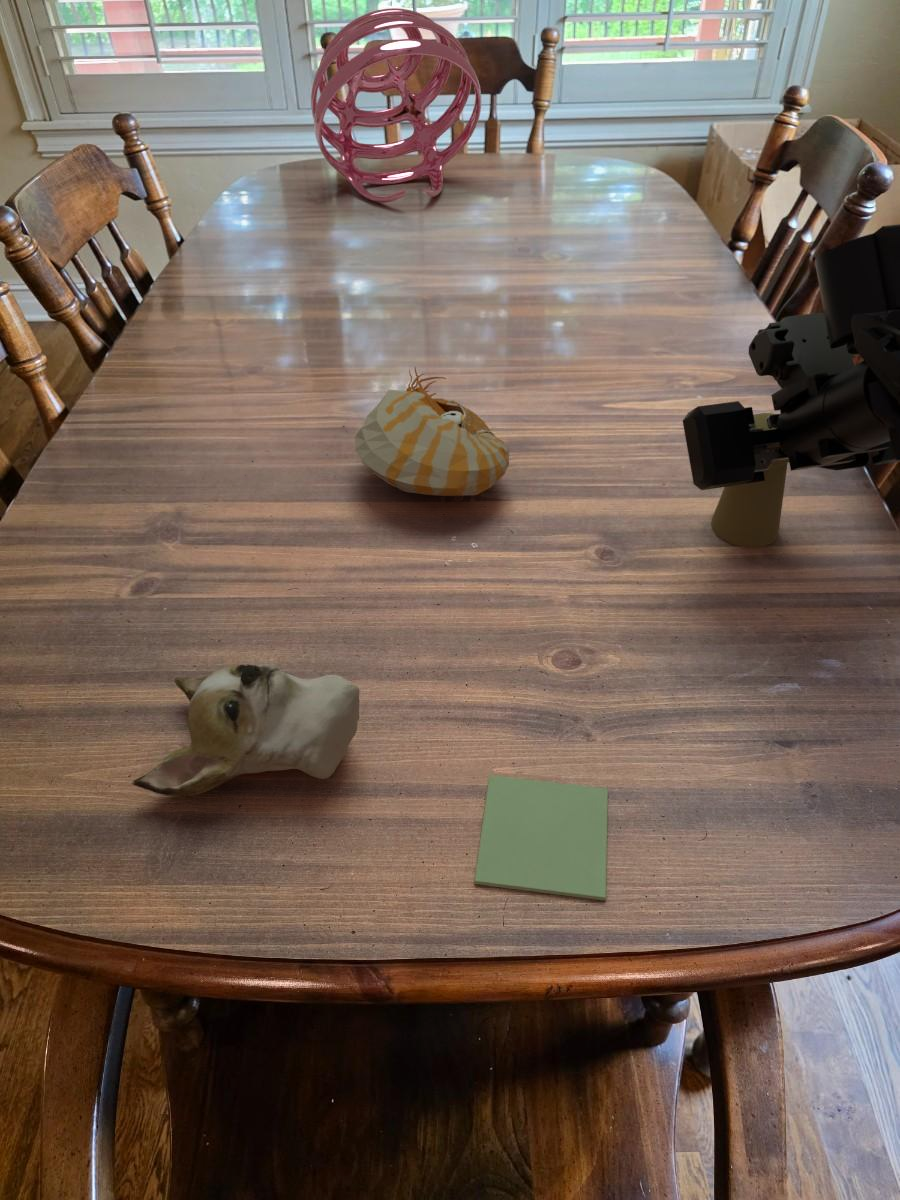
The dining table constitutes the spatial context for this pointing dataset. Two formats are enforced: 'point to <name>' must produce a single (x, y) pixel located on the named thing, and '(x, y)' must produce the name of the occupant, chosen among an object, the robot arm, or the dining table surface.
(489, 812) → the coaster
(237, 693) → the ceramic sculpture
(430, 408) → the nautilus
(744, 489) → the olive pawn
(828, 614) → the dining table surface
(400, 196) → the spiral basket
